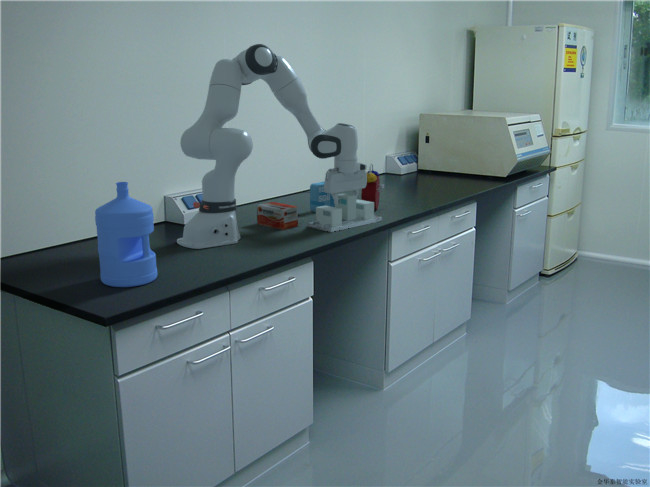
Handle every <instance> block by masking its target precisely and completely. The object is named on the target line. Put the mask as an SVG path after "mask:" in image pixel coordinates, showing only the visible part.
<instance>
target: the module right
mask: <svg viewBox="0 0 650 487" xmlns="http://www.w3.org/2000/svg"><path fill="white" fill-rule="evenodd" d="M374 214H375V210H374V202H369V201H364V200H361V199H358V198H357V200H356V217H357V218H358V217H363V219H369V218H373V217H374Z"/></svg>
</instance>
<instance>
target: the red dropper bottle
mask: <svg viewBox="0 0 650 487" xmlns="http://www.w3.org/2000/svg"><path fill="white" fill-rule="evenodd" d="M366 173H367V185H366V187H365V188H362V189H361V196H360V197H361V199H360V200H364V201H369V202H374V211H378V209H379V205H380V195H381V193H382V192H383V190H382V189H384V188H385V183H382V184H381V183H380V176H381V175H380V174H379V172H378V171H377V170H374V164H372V163H370V165H369V170H368V171H366Z"/></svg>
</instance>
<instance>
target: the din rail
mask: <svg viewBox="0 0 650 487" xmlns="http://www.w3.org/2000/svg"><path fill="white" fill-rule="evenodd" d="M382 221H383V217H382V216H378V215H377V213H374V217H373V218H369V219H363V217H358V218H357V217H356V219H352V220H343V219H342V225H337V226H333V227H332V226H330V224H326V225H324V224H320V223H319V221H317V222H316V220H315V221H310V222H307V227H308V228H312V229H316V230H318V231H319V230H320V231H324V232H327V231H328V233H335V232H334V231H336V232H340V231H343V230H348V228H349V229H352V228H357V227H361V226H365V225H370V224H375V223H378V222H379V223H380V222H382ZM339 230H340V231H339Z"/></svg>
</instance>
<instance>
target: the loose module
mask: <svg viewBox="0 0 650 487" xmlns="http://www.w3.org/2000/svg"><path fill="white" fill-rule="evenodd" d="M337 197H338V199H340V204H335V208H340V209H342V219H343V220H352V219H356V196H354V195H353V194H348V193H338V195H337Z"/></svg>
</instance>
